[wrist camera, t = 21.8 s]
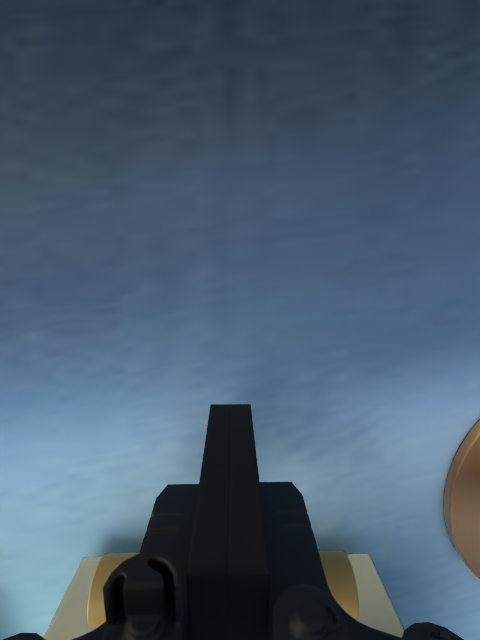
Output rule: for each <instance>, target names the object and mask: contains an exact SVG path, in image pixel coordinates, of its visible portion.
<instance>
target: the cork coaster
mask: <svg viewBox="0 0 480 640" xmlns="http://www.w3.org/2000/svg"><path fill="white" fill-rule="evenodd" d="M444 515H445V522H446V526H447V530H448V534H449V536H450V539H451V541H452V543H453V546H454V547H455V549H456V551H457V552H458V554H459V555H460V557H461V558H462V560H463V561H464V562H465V564H466V565H467V566H468V567H469V568H470V569H471V571H472V572H473V573H474V574H475V575H476V576H477V577H478V578H480V420H479V421H478V422H477V423H476V425H475V426H474V427H473V428H472V429H471V430H470V432H469V433H468V435H467V436H466V438H465V439H464V441H463V442H462V444H461V445H460V447H459V449H458V451H457V453H456V455H455V457H454V459H453V462H452V465H451V467H450V470H449V473H448V476H447V481H446V486H445V492H444Z"/></svg>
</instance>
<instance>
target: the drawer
mask: <svg viewBox="0 0 480 640" xmlns="http://www.w3.org/2000/svg"><path fill="white" fill-rule="evenodd" d="M318 552H319V555H320V559H321V563H322V566H323V570H324V573H325V577H326V580H327V584H328V586H329V589H330V591H331V594H332V595H333V597H334V598H335V600H336V601H337V603H338V604H339V605H340V606H341V607H342V609H343V610H344V611H345V612H346V613H347V614H349V615H350V616H351V617H353V618H354V619H355V620H357V621H358V622H360V623H362V624H365V625H367V626H369V627H371V628H374V629H377V630H380V631H383V632H386V633H389V634H392V635H395V636H398V637H400V638H402V636H403V633H404V629H403V627H402V625H401V623H400V621H399V618H398V616H397V614H396V612H395V610H394V607H393V605H392V603H391V601H390V599H389V597H388V594H387V592H386V590H385V588H384V586H383V584H382V581H381V579H380V577H379V575H378V573H377V571H376V568H375V566H374V564H373V562H372V560H371V558H370V555H369V554H346V552H345V551H343V550H318ZM137 554H139V553H106V554H104V555H103V556H102V557H84V558H83V559H82V561H81V563H80V565H79V567H78V569H77V571H76V573H75V575H74V577H73V579H72V581H71V583H70V585H69V587H68V589H67V591H66V593H65V595H64V597H63V599H62V601H61V603H60V605H59V607H58V609H57V611H56V613H55V615H54V617H53V619H52V621H51V623H50V625H49V627H48V629H47V631H46V633H45V635H44V637H43V638H44V639H45V640H72V639H74V638H77V637H80V636H82V635H84V634H86V633H89V632H91V631H93V630H95V629H96V628H98V627H99V626H100V625H102V624H103V623H104V622H106V616H105V607H104V598H103V586H104V584H105V582H106V581H107V579H108V577H109V576H110V574H111V573H112V572H113V571H114V570H115V569H116V568H117V567H118V566H119V565H120V564H121V563H122V562H123V561H125V560H127V559H129V558H131V557H133V556H135V555H137Z"/></svg>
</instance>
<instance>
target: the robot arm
mask: <svg viewBox="0 0 480 640" xmlns="http://www.w3.org/2000/svg"><path fill="white" fill-rule="evenodd" d="M103 598H104V607H105V616H106V622H104V623H103V624H102V625H100V626H99V627H98V628H96V629H95V630H93V631H91V632H89V633H86V634H84V635H82V636H80V637H77V638H74V639H72V640H464V639H462V638H461V637H459V636H458V635H456V634H454V633H453V632H451V631H450V630H448V629H447V628H445V627H442V626H439V625H436V624H433V623H429V622H425V623H414V624H413V625H411V626H410V627H408V628H407V629H406V630H404V633H403V636H402V638H400V637H398V636H395V635H392V634H389V633H386V632H383V631H380V630H377V629H374V628H371V627H369V626H367V625H365V624H362V623H360V622H358V621H357V620H355V619H354V618H353V617H351V616H350V615H349V614H347V613H346V612H345V611H344V610H343V609H342V607H341V606H340V605H339V604H338V603H337V601H336V600H335V598H334V597H333V595H332V594H331V591H330V589H329V586H328V584H327V580H326V577H325V573H324V570H323V566H322V563H321V559H320V555H319V552H318V548H317V545H316V541H315V538H314V534H313V531H312V528H311V524H310V520H309V517H308V514H307V510H306V506H305V503H304V499H303V496H302V494H301V493H300V492H299V490H298V489H297V488H296V487H295V486H294V484H293V483H292V482H259V475H258V466H257V458H256V449H255V440H254V432H253V423H252V414H251V405H250V404H235V405H231V404H230V405H211V406H210V413H209V420H208V427H207V434H206V441H205V448H204V455H203V462H202V469H201V476H200V483H199V484H173V485H167V486H166V487H165V489H164V490H163V491H162V492H161V493H160V495H159V496H158V497H157V498H156V501H155V504H154V508H153V511H152V514H151V518H150V521H149V524H148V527H147V532H146V534H145V537H144V540H143V543H142V547H141V550H140V553H139V554H137V555H135V556H133V557H131V558H129V559H127V560H125V561H123V562H122V563H121V564H120V565H119V566H118V567H117V568H116V569H115V570H114V571H113V572H112V573H111V574H110V576H109V577H108V579H107V581H106V582H105V584H104V586H103ZM3 640H45V639H44V638H43V637H41V636H40V635H38V634H37V633H20V634H17V635H14V636H11V637H8V638H6V639H3Z"/></svg>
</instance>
